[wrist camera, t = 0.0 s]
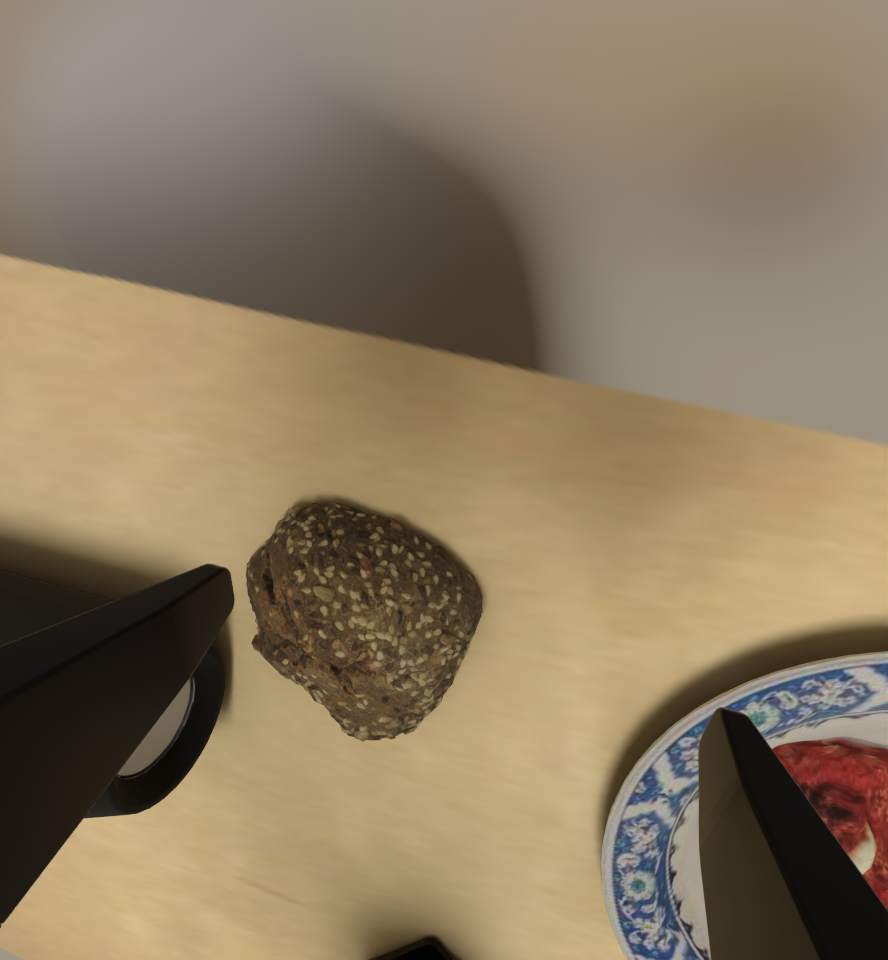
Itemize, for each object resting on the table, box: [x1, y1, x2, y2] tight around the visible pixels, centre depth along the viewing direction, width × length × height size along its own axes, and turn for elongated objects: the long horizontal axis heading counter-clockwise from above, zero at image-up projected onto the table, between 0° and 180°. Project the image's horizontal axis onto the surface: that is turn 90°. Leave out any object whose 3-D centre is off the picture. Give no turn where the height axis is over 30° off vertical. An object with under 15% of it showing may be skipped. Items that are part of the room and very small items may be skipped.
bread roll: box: [246, 502, 482, 741], centre depth 26 cm, size 13×12×5 cm
